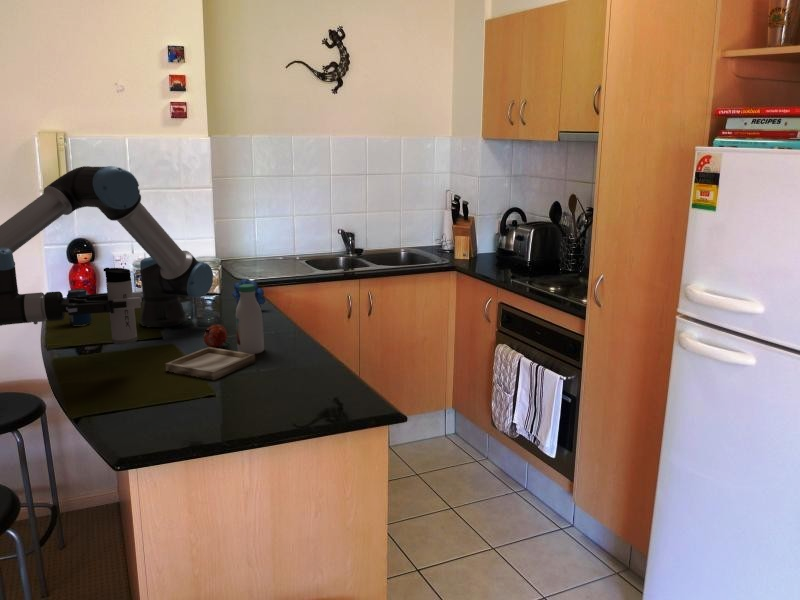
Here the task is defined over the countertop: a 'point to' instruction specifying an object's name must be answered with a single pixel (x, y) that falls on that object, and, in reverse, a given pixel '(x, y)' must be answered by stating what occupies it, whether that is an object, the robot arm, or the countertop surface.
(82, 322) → the soda can
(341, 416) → the countertop surface
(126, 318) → the travel mug
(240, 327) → the milk bottle
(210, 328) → the pomegranate
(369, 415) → the countertop surface
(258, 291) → the grapes
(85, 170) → the robot arm
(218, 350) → the wood tray
